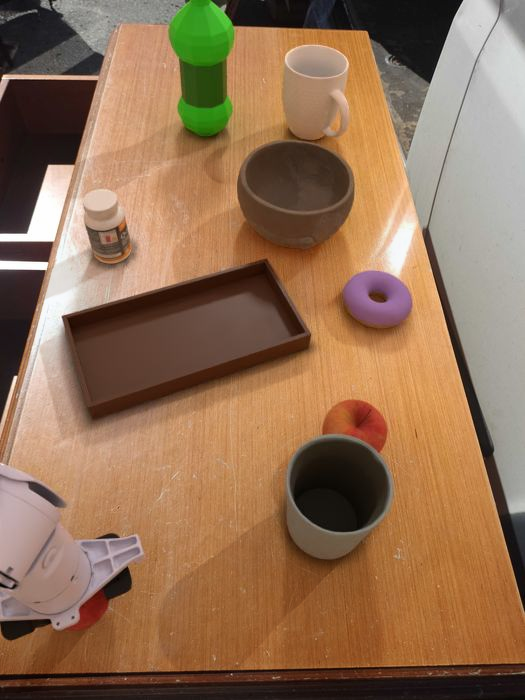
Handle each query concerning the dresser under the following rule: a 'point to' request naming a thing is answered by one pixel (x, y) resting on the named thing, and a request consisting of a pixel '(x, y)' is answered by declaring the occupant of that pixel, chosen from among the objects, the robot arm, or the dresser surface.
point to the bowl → (295, 192)
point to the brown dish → (182, 336)
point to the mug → (315, 91)
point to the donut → (374, 312)
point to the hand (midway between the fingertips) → (80, 599)
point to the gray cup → (336, 494)
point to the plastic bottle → (203, 65)
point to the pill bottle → (106, 226)
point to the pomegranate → (91, 611)
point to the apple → (357, 422)
